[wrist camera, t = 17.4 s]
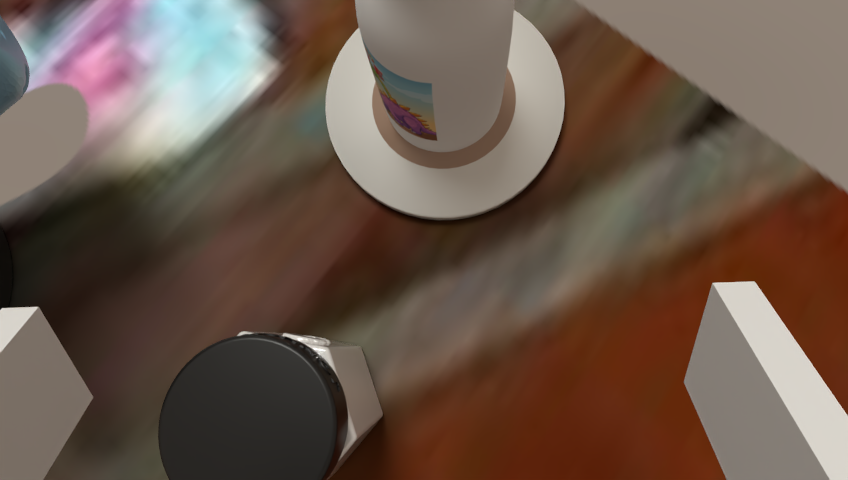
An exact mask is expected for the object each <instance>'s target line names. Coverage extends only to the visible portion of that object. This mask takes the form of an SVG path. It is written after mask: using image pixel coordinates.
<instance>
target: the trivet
mask: <svg viewBox="0 0 848 480" xmlns="http://www.w3.org/2000/svg"><path fill="white" fill-rule="evenodd" d="M564 106H565V99H564V86H563V80H562V75H561V72H560V69H559V66H558V63H557V60H556V58H555V56H554V54H553V52H552V50H551V48H550V46H549V45H548V43H547V42H546V40H545V39H544V37H543V36H542V35H541V34H540V32H539V31H538V30H537V29H536V28H535V27H534V26H533V25H532V24H531V23H530V22H529V21H528V20H527V19H525V18H524V17H523V16H522V15H521V14H519V13H518V12H516V11H515V10H514V15H513V28H512V36H511V44H510V51H509V59H508V65H507V72H506V78H505V85H504V91H503V97H502V103H501V107H500V110H499V114H498V116H497V119H496V121H495V122H494V124H493V126H492V127H491V129H490V130H489V131H488V132H487V133H486V134H485V135H484V136H483V137H482V138H481V139H480V140H478V141H477V142H475V143H474V144H472V145H470V146H468V147H466V148H463V149H460V150H457V151H452V152H432V151H427V150H424V149H421V148H418V147H416V146H414V145H412V144H411V143H409V142H408V141H406V140H405V139H404V138H403V137H402V136H401V135H400V134H399V133H398V132H397V131H396V130H395V128H394V127H393V125H392V123H391V121H390V119H389V117H388V115H387V112H386V110H385V107H384V104H383V101H382V98H381V96H380V93H379V90H378V87H377V84H376V81H375V78H374V75H373V72H372V69H371V66H370V63H369V60H368V57H367V54H366V50H365V47H364V44H363V40H362V37H361V33H360V29H359V28H358V29H357V30H356V31H355V32H354V33H353V35H352V36H351V37H350V38H349V40H348V41H347V42H346V44H345V45H344V47H343V48H342V50H341V52H340V53H339V55H338V57H337V59H336V61H335V64H334V66H333V68H332V71H331V75H330V78H329V81H328V87H327V93H326V120H327V127H328V131H329V135H330V139H331V141H332V144H333V146H334V149H335V151H336V153H337V155H338V157H339V159H340V160H341V162H342V164H343V166H344V167H345V169H346V170H347V171H348V173H349V174H350V175H351V177H352V178H353V179H354V180H355V182H356V183H357V184H358V185H359V186H360V187H361V188H362V189H363V190H364V191H365V192H366V193H367V194H369V195H370V196H372V197H373V198H374V199H376V200H377V201H378V202H380V203H382V204H383V205H385V206H387V207H389V208H391V209H393V210H395V211H398V212H400V213H403V214H405V215H409V216H413V217H417V218H421V219H429V220H457V219H464V218H470V217H473V216H477V215H480V214H484V213H486V212H489V211H491V210H493V209H496V208H498V207H500V206H501V205H503V204H505V203H507V202H508V201H510V200H512V199H513V198H514V197H516V196H517V195H518V194H519V193H521V192H522V191H523V190H524V189H525V188H526V187H527V186H528V185H529V184H530V183H531V182H532V181H533V180H534V179H535V178H536V177H537V175H538V174H539V173H540V172H541V170H542V169H543V168H544V166H545V164H546V162H547V161H548V159H549V157H550V155H551V154H552V151H553V149H554V147H555V144H556V142H557V139H558V137H559V134H560V130H561V126H562V122H563V116H564Z"/></svg>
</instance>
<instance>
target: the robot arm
mask: <svg viewBox="0 0 848 480" xmlns="http://www.w3.org/2000/svg"><path fill="white" fill-rule="evenodd" d="M29 76H30V75H29V66H28V63H27V60H26V57H25V55H24V53H23V51H22V49H21V47H20V45H19V43H18V41H17V40H16V38H15V36H14V35H13V33H12V32H11V30H10V29H9V27H8V26H7V24H6V23H5V21H4V20H3V19H2V17H1V16H0V115H1V114H3V113H4V112H5V111H6V110H7V109H9V108H10V107H11V106H12V105H13V104H15V103H16V102H17V101H18V100H19V99H20V98H21V97H22V96H23V94H24V93H25V91H26V90H27V87H28V83H29ZM12 280H13V270H12V260H11V254H10V249H9V246H8V243H7V240H6V237H5V235H4V233H3V231H2V228H1V227H0V480H43V479H44V478H45V476H46V474H47V473H48V471H49V470H50V468H51V466H52V465H53V463H54V461H55V460H56V458H57V456H58V455H59V453H60V451H61V450H62V448H63V446H64V445H65V443H66V442H67V440H68V438H69V437H70V435H71V433H72V432H73V430H74V428H75V427H76V425H77V423H78V422H79V420H80V418H81V417H82V415H83V413H84V412H85V410H86V409H87V407H88V405H89V404H90V402H91V400H92V399H93V396H92V394H91V393H90V391H89V389H88V388H87V386H86V384H85V383H84V381H83V379H82V378H81V376H80V374H79V373H78V371H77V369H76V368H75V366H74V364H73V363H72V361H71V359H70V358H69V356H68V355H67V353H66V351H65V350H64V348H63V346H62V345H61V343H60V341H59V340H58V338H57V336H56V335H55V333H54V331H53V330H52V328H51V326H50V325H49V323H48V321H47V320H46V318H45V316H44V315H43V313H42V311H41V310H40V308H39V307H19V308H8V306H9V301H10V297H11V291H12ZM684 383H685V386H686V388H687V390H688V392H689V395H690V397H691V399H692V402H693V404H694V406H695V408H696V411H697V413H698V415H699V417H700V420H701V422H702V424H703V427H704V429H705V431H706V433H707V436H708V438H709V440H710V443H711V445H712V447H713V449H714V452H715V454H716V456H717V458H718V461H719V463H720V465H721V468H722V470H723V472H724V474H725V477H726V479H727V480H848V416H847V414H846V413H845V411H844V410H843V409H842V407H841V406H840V404H839V403H838V401H837V400H836V398H835V397H834V396H833V394H832V393H831V391H830V390H829V388H828V387H827V385H826V384H825V383H824V381H823V380H822V378H821V377H820V375H819V374H818V372H817V371H816V370H815V368H814V367H813V365H812V364H811V362H810V361H809V359H808V358H807V357H806V355H805V354H804V352H803V351H802V349H801V348H800V346H799V345H798V343H797V342H796V341H795V339H794V338H793V336H792V335H791V333H790V332H789V330H788V329H787V328H786V326H785V325H784V323H783V322H782V320H781V319H780V317H779V316H778V315H777V313H776V312H775V310H774V309H773V307H772V306H771V304H770V303H769V302H768V300H767V299H766V297H765V296H764V294H763V293H762V291H761V290H760V289H759V287H758V286H757V284H756V283H755V281H754V282H726V283H712V286H711V290H710V293H709V297H708V300H707V304H706V307H705V311H704V314H703V317H702V321H701V324H700V328H699V331H698V335H697V338H696V342H695V345H694V349H693V352H692V355H691V359H690V362H689V366H688V369H687V373H686V376H685V380H684Z"/></svg>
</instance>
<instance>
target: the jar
mask: <svg viewBox="0 0 848 480" xmlns="http://www.w3.org/2000/svg"><path fill="white" fill-rule="evenodd" d="M382 416H383V412H382V409H381V406H380V403H379V400H378V397H377V394H376V391H375V388H374V385H373V382H372V379H371V376H370V372H369V369H368V366H367V363H366V360H365V357H364V354H363V351H362V348H361V347H360V346H357V345H352V344H347V343H342V342H336V341H331V340H326V339H325V338H320V337H313V336H307V335H300V334H292V333H269V332H250V331H242V332H240V333H239V334H238V335H237V336H235V337H230V338H227V339H224V340H221V341H219V342H217V343H215V344H212V345H211V346H209V347H207V348H205V349H204V350H202V351H201V352H200V353H198V354H197V355H196V356H194V357H193V358H192V359H191V360H190V361H189V362H188V363H187V364H186V365H185V366H184V367H183V368H182V370H181V371H180V372H179V374H178V375H177V376H176V378H175V379H174V381H173V383H172V384H171V386H170V388H169V390H168V392H167V395H166V397H165V400H164V403H163V406H162V409H161V414H160V420H159V433H158V438H159V449H160V455H161V459H162V462H163V466H164V468H165V471H166V474H167V476H168V478H169V480H329V479H330V477H331V476H332V475H333V474H334V473H335V472H336V471H337V470H338V469H339V468H340V467H341V466H342V465H343V463H344V462H345V461H346V460H347V459H348V457H349V456H350V455H351V454H352V453H353V451H354V450H355V449H356V448H357V447H358V445H359V444H360V443H361V442H362V441H363V439H364V438H365V437H366V436H367V435H368V433H369V432H370V431H371V430H372V429H373V427H374V426H375V425H376V424H377V423H378V421H379V420H380V419H381V418H382Z"/></svg>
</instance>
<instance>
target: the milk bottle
mask: <svg viewBox="0 0 848 480" xmlns="http://www.w3.org/2000/svg"><path fill="white" fill-rule="evenodd" d="M355 5H356V14H357V21H358V25H359V29H360V33H361V37H362V40H363V44H364V47H365V50H366V54H367V57H368V60H369V63H370V66H371V69H372V72H373V75H374V78H375V81H376V84H377V87H378V90H379V93H380V96H381V98H382V101H383V104H384V107H385V110H386V112H387V115H388V117H389V119H390V121H391V123H392V125H393V127H394V128H395V130H396V131H397V132H398V133H399V134H400V135H401V136H402V137H403V138H404V139H405V140H406V141H408V142H409V143H411V144H412V145H414V146H416V147H418V148H421V149H424V150H427V151H432V152H452V151H457V150H460V149H463V148H466V147H468V146H470V145H472V144H474V143H475V142H477V141H478V140H480V139H481V138H482V137H483V136H484V135H485V134H486V133H487V132H488V131H489V130H490V129H491V127H492V126H493V124H494V122H495V121H496V119H497V116H498V114H499V110H500V107H501V103H502V97H503V91H504V85H505V78H506V72H507V65H508V59H509V51H510V44H511V36H512V28H513V15H514V0H355Z"/></svg>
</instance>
